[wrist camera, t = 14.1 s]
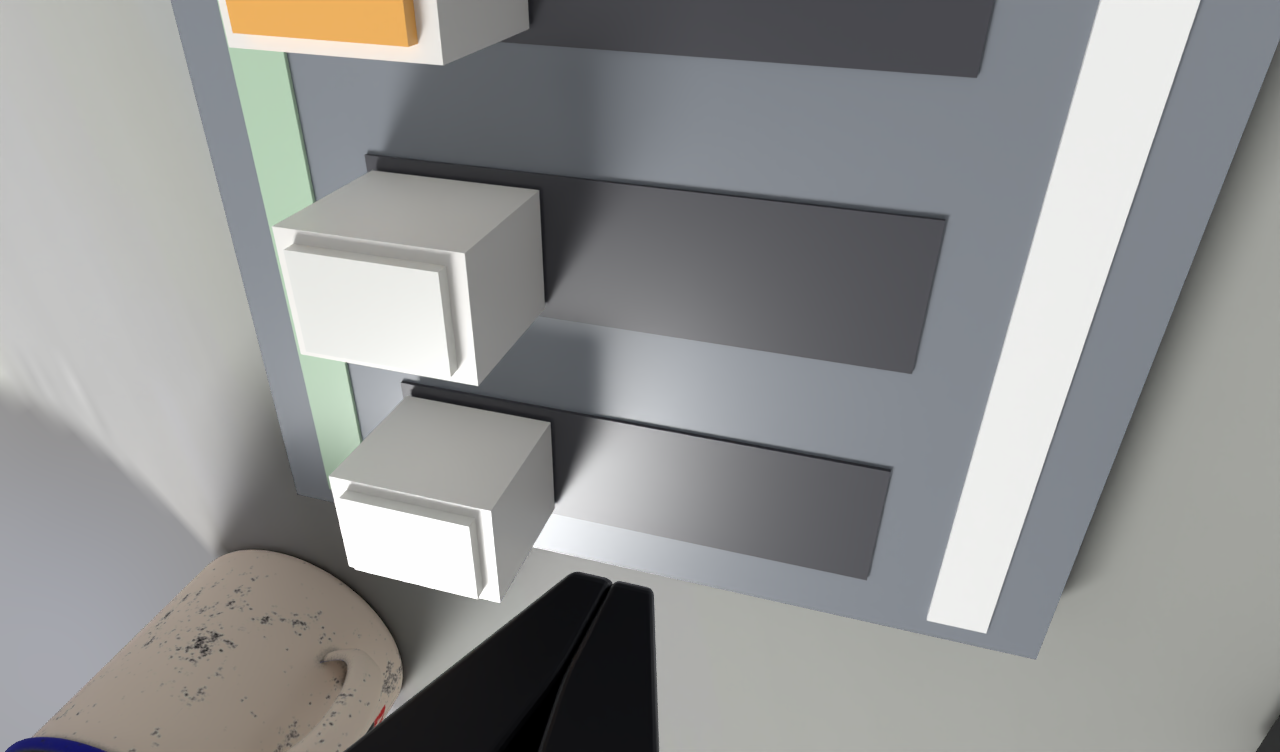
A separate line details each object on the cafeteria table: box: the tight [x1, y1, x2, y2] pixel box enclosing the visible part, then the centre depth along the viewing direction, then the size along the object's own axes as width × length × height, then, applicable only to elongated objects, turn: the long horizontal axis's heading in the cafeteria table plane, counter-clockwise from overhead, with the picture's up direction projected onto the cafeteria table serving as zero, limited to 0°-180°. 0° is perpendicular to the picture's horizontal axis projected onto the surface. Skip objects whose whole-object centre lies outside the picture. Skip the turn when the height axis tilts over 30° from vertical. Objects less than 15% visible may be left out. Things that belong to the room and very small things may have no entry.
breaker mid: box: [272, 170, 545, 386], centre depth 17 cm, size 4×3×4 cm
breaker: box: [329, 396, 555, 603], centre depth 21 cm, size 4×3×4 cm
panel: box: [171, 0, 1280, 659], centre depth 19 cm, size 21×18×2 cm
